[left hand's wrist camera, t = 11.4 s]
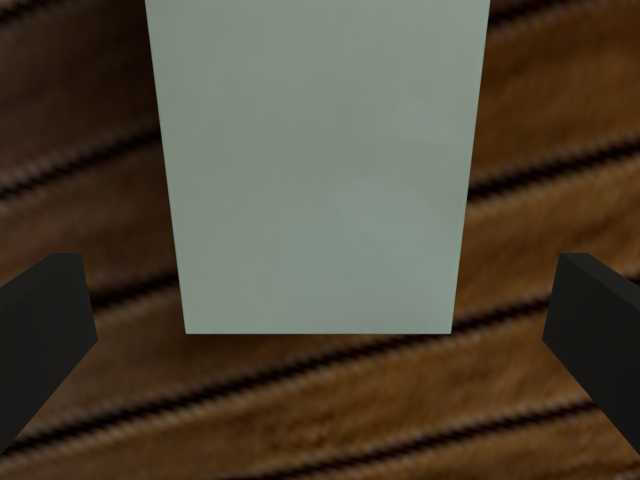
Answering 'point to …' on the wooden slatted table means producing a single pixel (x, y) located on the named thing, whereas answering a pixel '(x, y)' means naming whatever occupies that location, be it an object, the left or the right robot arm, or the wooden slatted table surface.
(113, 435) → the wooden slatted table surface
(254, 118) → the cabinet
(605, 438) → the wooden slatted table surface
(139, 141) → the wooden slatted table surface
